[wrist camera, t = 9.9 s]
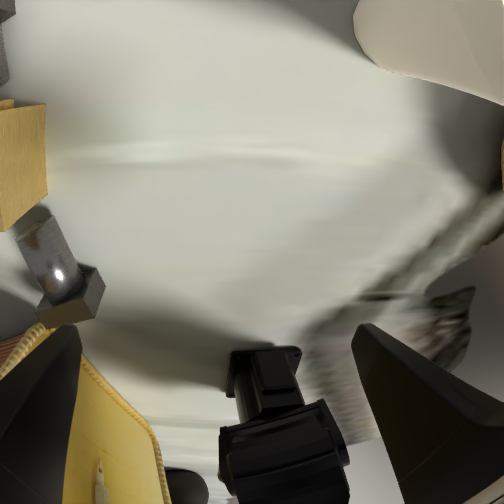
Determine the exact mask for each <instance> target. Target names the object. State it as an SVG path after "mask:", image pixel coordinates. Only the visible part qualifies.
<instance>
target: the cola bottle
mask: <svg viewBox="0 0 504 504" xmlns="http://www.w3.org/2000/svg"><path fill="white" fill-rule="evenodd" d="M165 476H166V481H167V486H168V490H169V495H170V499H171V503H172V504H207V503H208V498H209V492H208V488H207V485H206V483H205V481H204V479H203V478H202V477H201V476H200V475H198V474H196V473H192V472H188V471H170V472H166V473H165Z"/></svg>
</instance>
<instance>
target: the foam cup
mask: <svg viewBox="0 0 504 504" xmlns="http://www.w3.org/2000/svg"><path fill="white" fill-rule="evenodd" d="M353 24H354V34H355V36H356V38H357V40H358V42H359V44H360V46H361V48H362V50H363V52H364V53H365V54H366V55H367V56H368V57H369V58H370V59H371V60H372V61H373V62H374V63H375V64H376V65H377V66H378V67H381V68H383V69H386V70H388V71H391V72H393V73H398V74H401V75H405V76H410V77H414V78H418V79H422V80H426V81H430V82H434V83H437V84H441V85H444V86H448V87H451V88H455V89H458V90H461V91H464V92H467V93H470V94H473V95H476V96H479V97H482V98H484V99H487V100H490V101H492V102H495V103H497V104H500V105H503V106H504V0H360V1H359V2H358V4H357V7H356V9H355V12H354V14H353Z"/></svg>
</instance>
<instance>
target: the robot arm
mask: <svg viewBox="0 0 504 504" xmlns="http://www.w3.org/2000/svg"><path fill="white" fill-rule="evenodd" d="M351 348H352V352H353V355H354V359H355V362H356V366H357V369H358V373H359V377H360V380H361V383H362V386H363V389H364V392H365V394H366V397H367V399H368V402H369V404H370V407H371V409H372V412H373V415H374V417H375V420H376V423H377V425H378V428H379V431H380V433H381V436H382V439H383V441H384V444H385V447H386V450H387V452H388V455H389V458H390V461H391V464H392V466H393V469H394V472H395V475H396V478H397V481H398V482H399V483H398V484H399V487H400V490H401V493H402V496H403V499H404V502H405V504H504V402H501V401H499V400H497V399H495V398H493V397H492V396H489V395H488V394H486V393H484V392H482V391H480V390H478V389H476V388H474V387H473V386H471V385H469V384H467V383H466V382H464V381H462V380H461V379H459V378H457V377H455V376H454V375H452V374H451V373H448V371H446V370H445V369H443V368H441V367H440V366H438V365H437V364H435V363H434V362H432V361H430V360H429V359H427V358H426V357H424V356H422V355H421V354H419V353H418V352H416V351H415V350H413V349H411V348H410V347H408V346H407V345H405V344H403V343H402V342H400V341H399V340H397V339H395V338H394V337H392V336H391V335H389V334H388V333H386V332H384V331H383V330H381V329H380V328H378V327H376V326H375V325H373V324H371V323H362V324H360V325H359V326H358V327H357V330H356V332H355V334H354V337H353V339H352V342H351ZM296 353H297V354H296ZM81 356H82V344H81V340H80V337H79V333H78V330H77V327H76V325H74V324H62V325H61V326H60V327H58V328H57V329H56V330H55V331H54V332H53V333H52V334H50V335H49V336H48V337H47V338H46V339H45V340H44V341H42V342H41V343H40V344H39V345H38V346H37V347H36V348H34V349H33V350H32V351H31V352H30V353H29V354H28V355H27V356H26V357H24V358H23V359H22V360H21V361H20V362H19V363H18V364H17V365H16V366H15V367H14V368H13V369H11V370H10V371H9V372H8V373H7V374H6V375H5V376H4V377H3V378H2V379H1V380H0V504H62V501H63V487H64V477H65V467H66V459H67V451H68V444H69V437H70V431H71V425H72V419H73V414H74V409H75V403H76V398H77V392H78V382H79V373H80V364H81ZM236 356H237V357H236ZM301 356H302V352H301V349H299V348H292V349H276V350H255V351H234V352H232V353H231V354H230V358H229V367H228V375H227V383H226V397H228V398H236V404H237V409H238V414H239V420H240V424H237V425H233V426H229V427H227V426H224V427H220V435H219V470H218V479H219V480H220V481H221V482H223V483H225V485H226V488H227V490H228V491H229V493H230V494H231V495H232V496H237V499H238V502H239V504H348V502H349V498H350V494H349V490H350V489H349V485H348V482H347V479H346V475H345V472H344V469H343V467H344V466H347V465H349V464H350V460H349V455H348V452H347V448H346V445H345V442H344V439H343V437H342V434H341V432H340V430H339V428H338V426H337V424H336V422H335V420H334V418H333V416H332V414H331V412H330V410H329V408H328V406H327V405H326V403H325V401H324V399H320V400H317V402H314V403H311V404H308V405H305V402H304V399H303V396H302V394H301V391H300V388H299V386H298V383H297V380H296V377H295V374H296V371H297V368H298V365H299V362H300V359H301Z"/></svg>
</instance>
